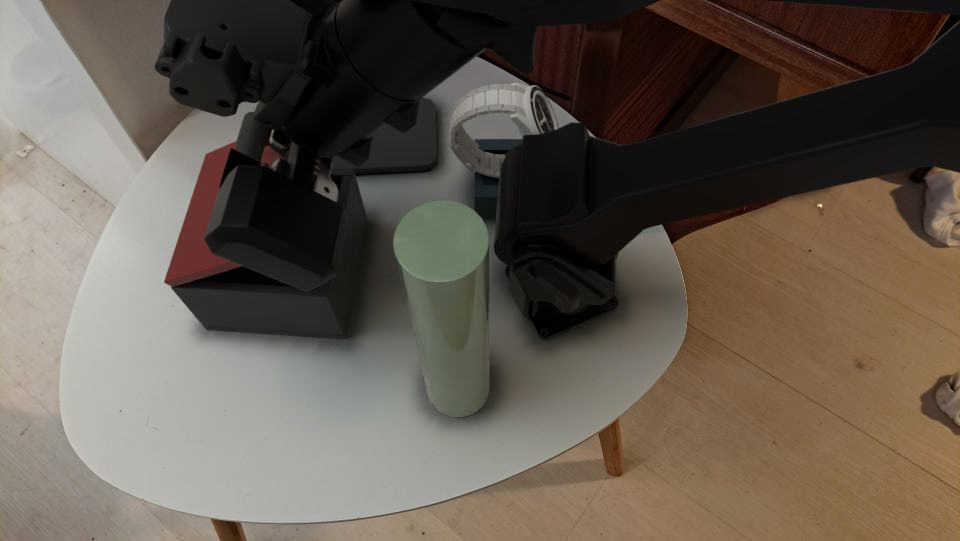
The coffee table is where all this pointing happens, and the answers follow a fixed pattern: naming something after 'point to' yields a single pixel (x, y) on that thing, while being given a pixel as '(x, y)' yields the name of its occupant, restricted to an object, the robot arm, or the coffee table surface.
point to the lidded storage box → (285, 287)
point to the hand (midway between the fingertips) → (239, 176)
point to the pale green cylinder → (448, 301)
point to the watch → (489, 154)
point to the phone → (402, 146)
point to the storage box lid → (191, 247)
